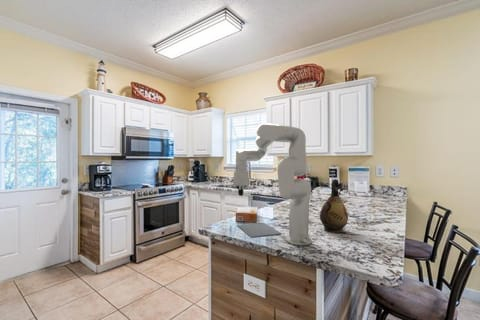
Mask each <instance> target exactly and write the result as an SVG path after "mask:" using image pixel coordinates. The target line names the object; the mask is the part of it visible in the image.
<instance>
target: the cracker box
mask: <svg viewBox="0 0 480 320" xmlns="http://www.w3.org/2000/svg"><path fill="white" fill-rule="evenodd" d="M258 209H259V207H257V206H243V205H241V206H240V205H239V206H238V207H237V210H236V212H235V221H236V222H246V223H247V222H248V223H258V222H257V221H258Z"/></svg>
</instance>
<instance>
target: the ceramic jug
mask: <svg viewBox="0 0 480 320" xmlns="http://www.w3.org/2000/svg"><path fill="white" fill-rule="evenodd" d="M341 189H342V183H341V182H339V180H338V179H337V178H334V179H332V181H331V193H330V196H329V197H328V198H327V200H326V201H325V202H324V203H323V205H322V208H321V210H320V212H319V220H320V222H321V225H323V227H324V230H325V231H327V232H330V233H341V232H342V230H343V229H344V228H345V227H346V226H347V224H348V222H349V213H348V211H347V208H346V205H345V204H344V202H343V200H342V198H341V197H340V195H339V190H341Z"/></svg>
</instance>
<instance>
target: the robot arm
mask: <svg viewBox="0 0 480 320" xmlns="http://www.w3.org/2000/svg"><path fill="white" fill-rule="evenodd" d="M256 135H257V137H256V138H255V144H256V146H257V147H258V148H256V149H237V150H236V151H235V166H233V169H235V170H234V172H233V179H232V180H233V182H232V183H233V185H232V186H233V188H236V189H237V191H238V192H237V193H238V194H237V195H238V196H241V197H243V196H244V190H245V189H246V188H248V187H249V186H250V173H249V170H248V162H257V161H260V160H261V159H263V157H265V155H266V154H267V153H268V152H267V151H268V147H270V145H271V144H273V143H275V142H277V143H278V142H279V143H290V144H289V148H288V157H283V158H282V159H280V161H279V162H278V166H277V183H278V192H279V194H280V196H281V198H283V199H284V200H290V202H289V216H288V217H289V219H288V220H289V221H288V224H289V225H288V228H289V229H288V230H289V231H288V235H287V236H285V241H286V242H288V243H289V244H292V245H295V246H308V245H311V243H312V238H310V234H309V228H310V227H309V222H310V220H309V218H310V199H311V195H312V185H311V184H310V182H309V181H308V180H306V179H305V178H295V177H302V176H304V175H306V173H307V171H308V162H307V149H306V144H307V142H306V141H307V139H306V134H305V132H304V131H303V130H302V129H301V128H298V127H295V126H291V125H290V126H289V125H279V124H274V123H266V122H263V123H261V124H259V125H258V126H257V128H256Z"/></svg>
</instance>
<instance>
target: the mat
mask: <svg viewBox="0 0 480 320" xmlns="http://www.w3.org/2000/svg"><path fill="white" fill-rule="evenodd" d="M237 227H238V228H239V229H240V230H241V231H243V232H244V233H245V235H247V236H249V237H250V238H252V239H253V238H262V237H268V236H277V235H278V236H279V235H282V232H280V231H279V230H277V229H275V228H273V227H271V226H270V225H269V224H267V223H265V222H253V223H246V224H237Z"/></svg>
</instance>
